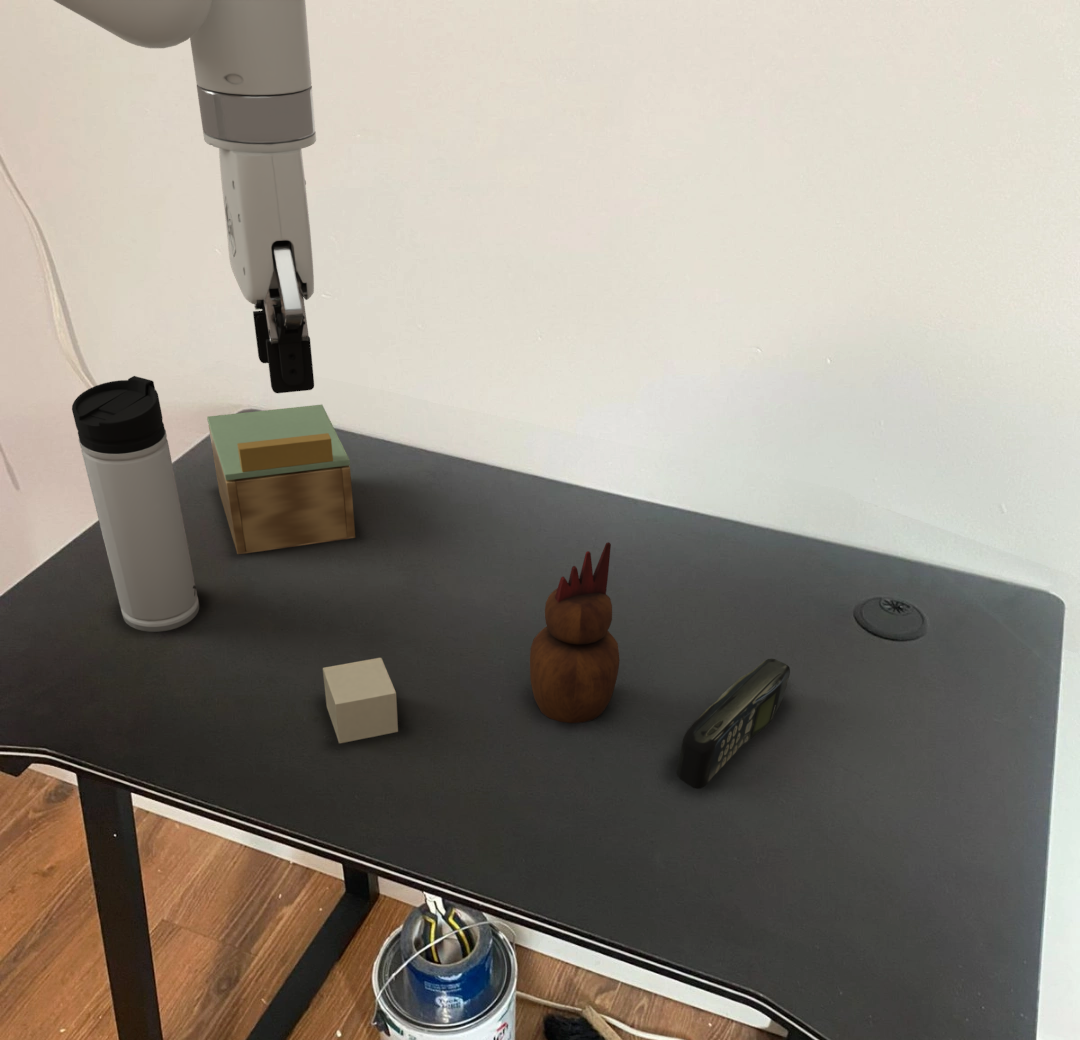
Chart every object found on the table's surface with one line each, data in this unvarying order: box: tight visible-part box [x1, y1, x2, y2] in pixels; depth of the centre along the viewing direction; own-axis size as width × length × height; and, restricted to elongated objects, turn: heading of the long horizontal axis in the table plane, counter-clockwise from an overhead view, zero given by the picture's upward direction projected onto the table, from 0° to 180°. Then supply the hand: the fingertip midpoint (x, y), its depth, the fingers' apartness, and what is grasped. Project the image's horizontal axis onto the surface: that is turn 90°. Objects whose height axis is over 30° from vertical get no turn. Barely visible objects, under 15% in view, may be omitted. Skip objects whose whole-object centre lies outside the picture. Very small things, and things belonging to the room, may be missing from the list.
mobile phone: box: [676, 658, 791, 790], centre depth 81 cm, size 5×3×15 cm
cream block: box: [322, 657, 399, 744], centre depth 81 cm, size 4×4×4 cm
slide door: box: [206, 404, 351, 480], centre depth 98 cm, size 11×12×3 cm
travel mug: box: [71, 375, 200, 633], centre depth 85 cm, size 6×7×20 cm
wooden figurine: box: [529, 542, 620, 724], centre depth 80 cm, size 7×6×15 cm
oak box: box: [208, 426, 356, 555], centre depth 102 cm, size 11×12×8 cm
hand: (286, 372), depth 84 cm, fingers open, 5 cm apart
